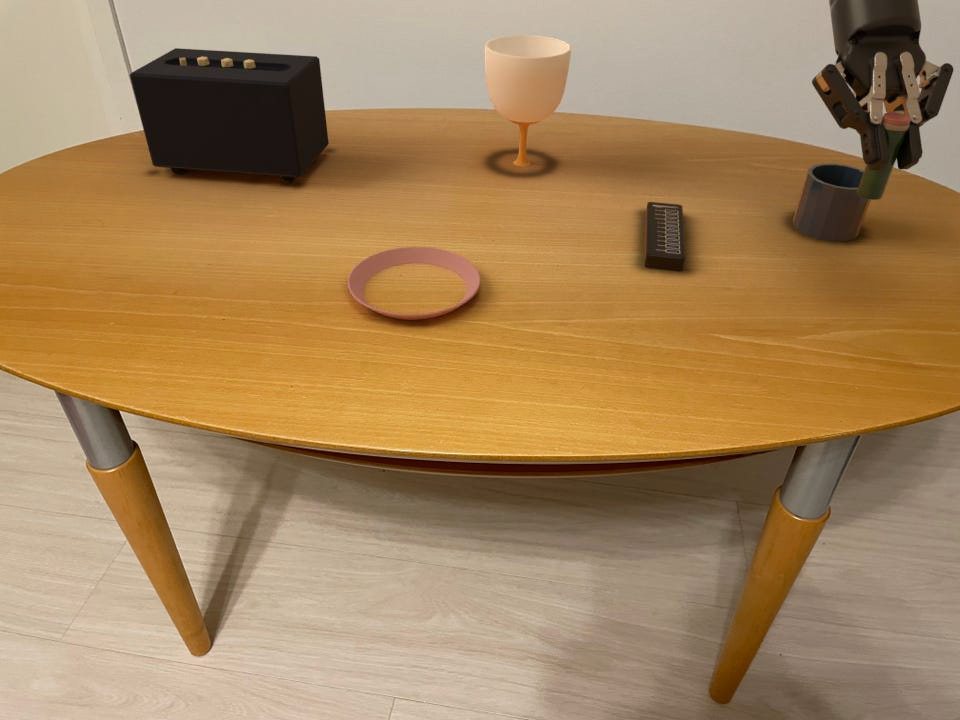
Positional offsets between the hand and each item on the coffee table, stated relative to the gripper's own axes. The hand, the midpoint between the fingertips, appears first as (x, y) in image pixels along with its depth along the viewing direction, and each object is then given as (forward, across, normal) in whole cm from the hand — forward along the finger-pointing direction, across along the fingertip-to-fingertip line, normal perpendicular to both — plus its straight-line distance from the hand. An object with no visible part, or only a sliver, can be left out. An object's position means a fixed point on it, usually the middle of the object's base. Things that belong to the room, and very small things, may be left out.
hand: (894, 165), depth 71 cm
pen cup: (-1, +6, +23) cm, 24 cm away
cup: (-17, -30, +40) cm, 52 cm away
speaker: (-19, -70, +42) cm, 84 cm away
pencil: (+1, 0, +4) cm, 4 cm away
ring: (+7, -46, +15) cm, 49 cm away
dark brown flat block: (+1, -16, +22) cm, 27 cm away
